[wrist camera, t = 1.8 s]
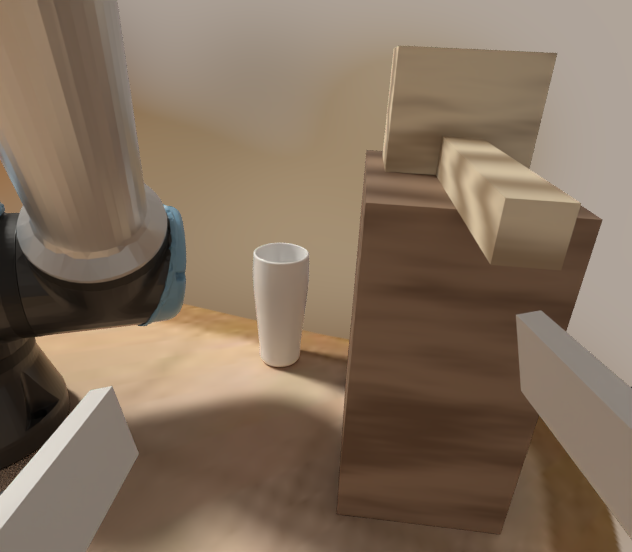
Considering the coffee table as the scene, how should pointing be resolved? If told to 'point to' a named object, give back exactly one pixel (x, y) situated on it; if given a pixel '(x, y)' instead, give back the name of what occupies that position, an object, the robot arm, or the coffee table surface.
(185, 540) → the coffee table surface
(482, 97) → the stepped beige block
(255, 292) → the drinking glass
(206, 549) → the coffee table surface
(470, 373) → the stand
